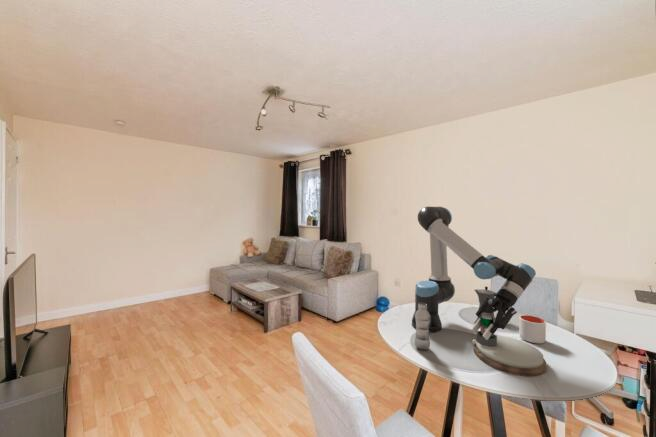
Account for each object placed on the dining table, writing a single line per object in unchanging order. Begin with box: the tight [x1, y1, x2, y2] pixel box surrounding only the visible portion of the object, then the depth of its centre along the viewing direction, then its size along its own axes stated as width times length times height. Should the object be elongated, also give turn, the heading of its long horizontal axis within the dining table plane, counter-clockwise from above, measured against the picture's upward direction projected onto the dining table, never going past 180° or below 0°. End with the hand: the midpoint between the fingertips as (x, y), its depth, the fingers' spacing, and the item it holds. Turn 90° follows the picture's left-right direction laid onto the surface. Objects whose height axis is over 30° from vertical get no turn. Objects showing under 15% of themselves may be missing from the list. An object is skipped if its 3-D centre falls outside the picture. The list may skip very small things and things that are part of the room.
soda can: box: [479, 313, 495, 338], centre depth 114 cm, size 5×5×12 cm
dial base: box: [473, 343, 547, 377], centre depth 111 cm, size 25×25×2 cm
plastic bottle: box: [414, 303, 431, 351], centre depth 118 cm, size 6×7×20 cm
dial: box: [472, 330, 544, 369], centre depth 111 cm, size 25×23×5 cm
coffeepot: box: [474, 286, 497, 320], centre depth 153 cm, size 15×9×18 cm, turn 37°
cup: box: [518, 314, 547, 344], centre depth 127 cm, size 10×10×10 cm
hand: (478, 334), depth 113 cm, fingers open, 5 cm apart
